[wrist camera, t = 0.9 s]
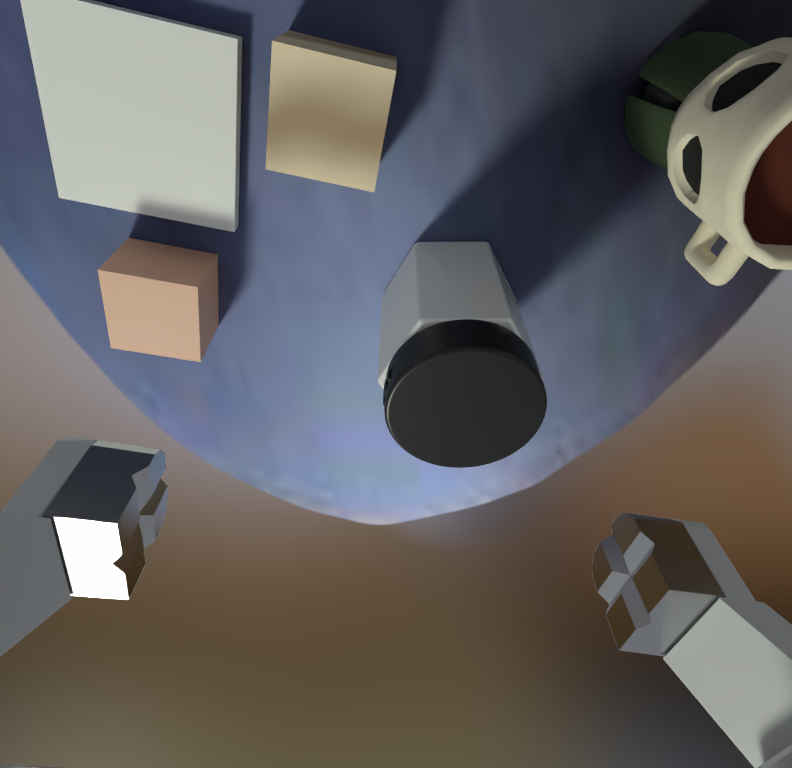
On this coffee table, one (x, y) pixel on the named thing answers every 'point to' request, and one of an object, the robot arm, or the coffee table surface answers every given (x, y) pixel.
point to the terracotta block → (160, 299)
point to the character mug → (723, 144)
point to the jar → (457, 358)
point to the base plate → (139, 110)
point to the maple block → (328, 110)
